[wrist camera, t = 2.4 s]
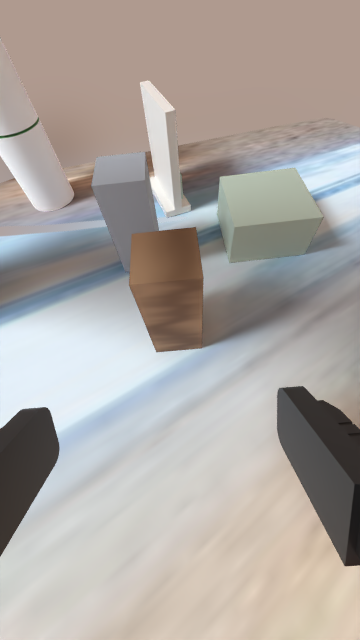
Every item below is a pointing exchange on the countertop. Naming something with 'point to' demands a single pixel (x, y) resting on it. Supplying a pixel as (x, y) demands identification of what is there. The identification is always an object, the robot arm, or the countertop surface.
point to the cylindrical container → (28, 144)
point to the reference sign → (164, 152)
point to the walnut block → (168, 287)
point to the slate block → (125, 199)
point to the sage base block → (266, 215)
